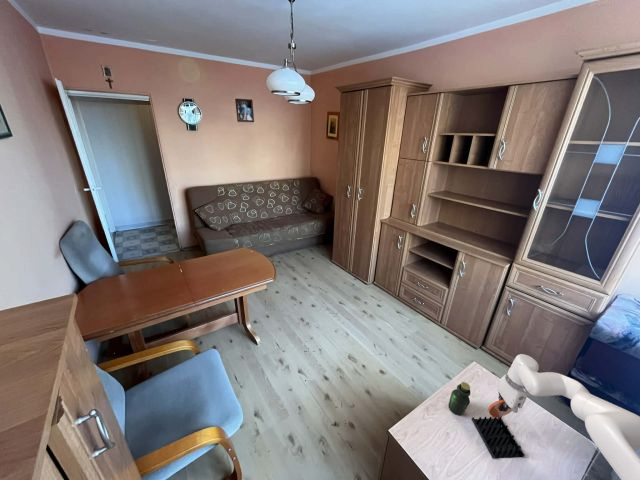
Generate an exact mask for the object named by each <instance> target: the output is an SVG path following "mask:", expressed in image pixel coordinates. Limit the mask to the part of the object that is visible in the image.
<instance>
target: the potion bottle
mask: <svg viewBox="0 0 640 480" xmlns="http://www.w3.org/2000/svg"><path fill="white" fill-rule="evenodd" d="M470 396H471V386H470V384H469V383H468V382H466V381H462V382H461V383H460V384H458V385H457V386H456V388H454V389H453V390H452V391H451V393H450V396H449V401H448V404H447V406H448V409H449V411H450V412H451V413H452V414H453V415H455V416H457V417H459V416H462V415H463V413H465V411H466V410H467V408H468V407H469V405H470V403H471V400H470Z"/></svg>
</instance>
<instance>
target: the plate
mask: <svg viewBox="0 0 640 480" xmlns="http://www.w3.org/2000/svg"><path fill="white" fill-rule="evenodd" d="M504 403H505V400H504V399H503V400H499V399H498V400H496V401H494V402H493V403H491V404H490V405H489V406H488V408H487V412H488V413H489V415H490V416H491V417H492V418H501V417H502V418H503V417H504V416H506V415H509V414H511V413H512V412H513V411H512V410H511V409H509V408H508V410H507V411H506V412H503V411H499V408H500V406H501V405H502V404H504Z"/></svg>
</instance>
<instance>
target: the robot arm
mask: <svg viewBox="0 0 640 480" xmlns="http://www.w3.org/2000/svg"><path fill="white" fill-rule="evenodd" d="M539 368H540V366H539V362H538V361H537V360H536V359H534V358H533V357H531V356H530V355H528V354H524V353H519V354H517V355H516V356H515V357H514V359H513V361H512V364H511V365H510V367H509V369H508V371H507V373H505V374H504V375H503V376H502V377H501V378H500V379H499V380H498V382H497V384H496V390H497V392H498V401H499V400H503V399H504V400H505V403H504V404H502V405H501V406H500V408H499V411H503V412H506V411H507V410H508V408H509V409H511V410H512V412H513V414H517V413H519V409H522V408H523V407H524V404H525V403H526V400H527V397H528V394H529V395H531V396H533V397H537V398H540V397H551V396H563V397H565V398H567V399H569V400H570V409H571V411H572V413H573V415H574V416H575V417H576V418H577V419H579V420H581V421H583V422H584V426H585V430H586V432H587V434H588V435H589V437H590V439H591V440H592V442H593V444H595V446H596V448H597V449H598V451H599V452H600V453H601V454H602V456H603V457H604V458H605V460H606V462H608V464H609V465H610V466H611V468H612V469H613V471H614V473H616V475H617V476H618V478H619V479H620V480H640V455H639V454H638V453H637V452H636V451H639V450H640V415H638V414H636V413H634V412H631V411H629V410H627V409H625V408H623V407H621V406H619V405H616V404H613V403H612V402H609V401H608V400H606V399H602V398H600V397H598V396H596V395H594V394H592V393H590V391H589V390H588V389H587V388H586V387H585V386H584V385H583V384H582V383H581V382H579V381H577V379H574V378H571V377H569V376H566V375H565V374H562V373H559V372H554V371H545V372H538V371H539Z"/></svg>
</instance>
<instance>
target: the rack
mask: <svg viewBox="0 0 640 480" xmlns="http://www.w3.org/2000/svg"><path fill="white" fill-rule="evenodd" d="M502 418H503V416H502V417H501V418H492V416H491V415H490V416H489V417H487V416H484V417H483V418H482V416H479V417H478V418H475V417H473V416H472V417H471V421H472V423H473V425H474V427H475V429H476V430H477V432H478V434H479V436H480V438H481V440H482V442H483V444H484V446H485V447H486V449H487V451H488V453H489V455H490V456H491V457H490V458H492V459H495V460H496V459H517V458H518V459H520V458H521V459H522V458H525V457H526V454H525V453H524V452H523V450H522V446H521V445H519V444H518V442H517V440H516V439H515V435H514V434H512V433H511V431H510V429H509V425H507V424H506V423H505V422H504V420H503V419H502Z"/></svg>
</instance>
